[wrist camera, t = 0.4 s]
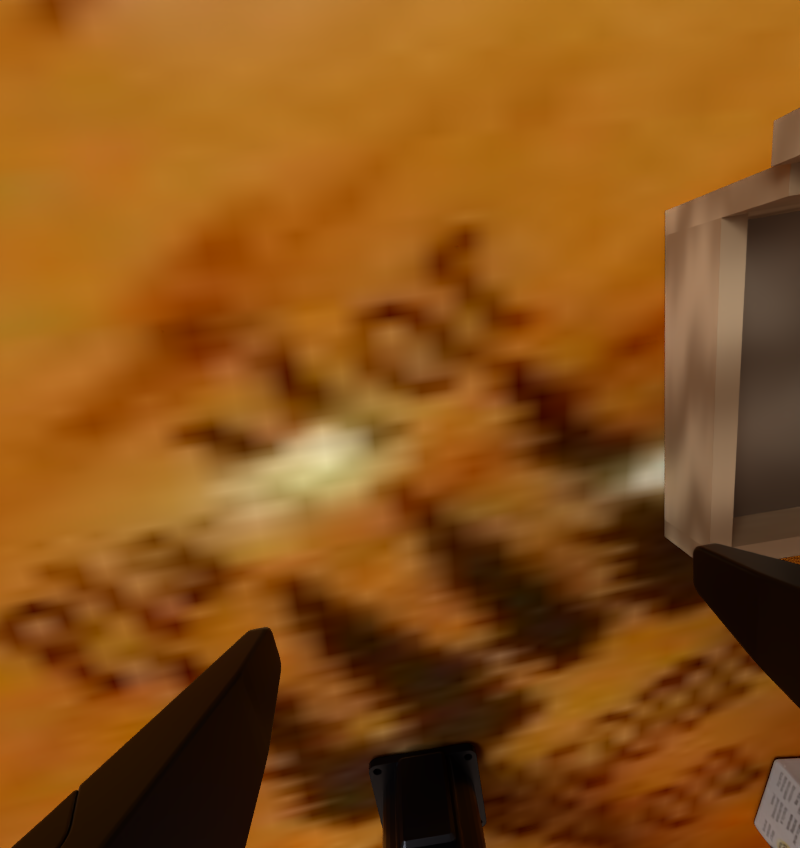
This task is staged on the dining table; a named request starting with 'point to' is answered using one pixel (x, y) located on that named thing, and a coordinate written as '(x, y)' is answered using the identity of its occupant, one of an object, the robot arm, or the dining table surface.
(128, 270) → the dining table surface
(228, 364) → the dining table surface
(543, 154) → the dining table surface
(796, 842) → the coffee box
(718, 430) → the open wooden box
